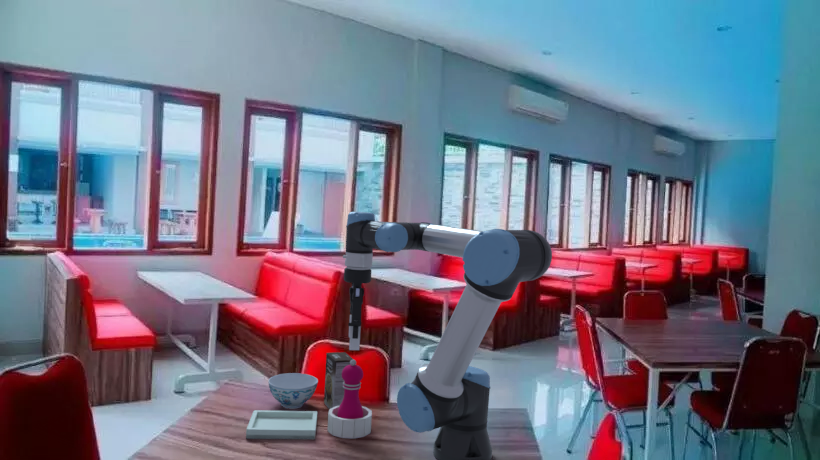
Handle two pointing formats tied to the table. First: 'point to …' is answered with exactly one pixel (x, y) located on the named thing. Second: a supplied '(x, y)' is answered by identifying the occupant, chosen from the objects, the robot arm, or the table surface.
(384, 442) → the table surface
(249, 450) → the table surface
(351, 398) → the pepper mill
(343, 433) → the cup
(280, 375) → the chinaware
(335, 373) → the coffee box
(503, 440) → the table surface
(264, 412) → the tray
